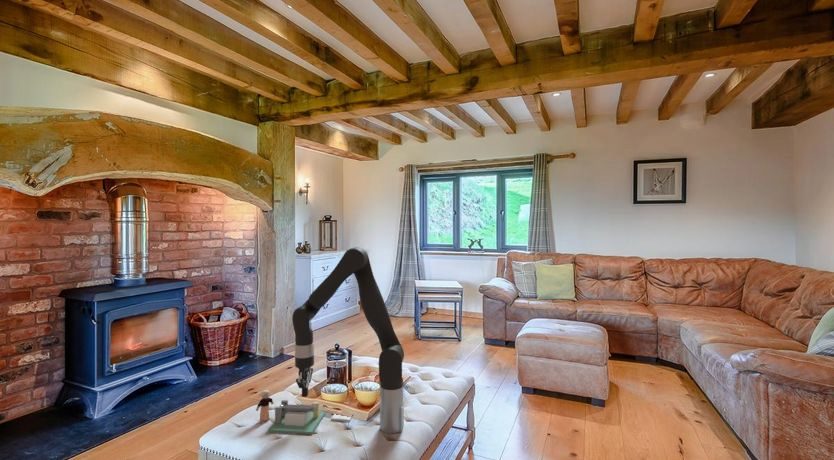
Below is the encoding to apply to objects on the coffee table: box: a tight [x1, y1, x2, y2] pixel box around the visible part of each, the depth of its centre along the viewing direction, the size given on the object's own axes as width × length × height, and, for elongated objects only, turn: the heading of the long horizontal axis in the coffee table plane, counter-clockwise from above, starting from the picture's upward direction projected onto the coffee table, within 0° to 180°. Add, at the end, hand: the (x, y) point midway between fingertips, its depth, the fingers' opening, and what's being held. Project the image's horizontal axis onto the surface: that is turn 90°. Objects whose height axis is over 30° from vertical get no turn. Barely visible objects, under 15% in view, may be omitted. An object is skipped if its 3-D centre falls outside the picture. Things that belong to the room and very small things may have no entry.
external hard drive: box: [330, 413, 353, 423], centre depth 167 cm, size 2×8×12 cm
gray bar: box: [278, 403, 317, 412], centre depth 159 cm, size 16×4×2 cm, turn 85°
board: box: [267, 399, 326, 435], centre depth 159 cm, size 18×16×8 cm
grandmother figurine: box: [255, 389, 274, 424], centre depth 161 cm, size 8×4×13 cm, turn 153°
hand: (305, 396), depth 159 cm, fingers closed
